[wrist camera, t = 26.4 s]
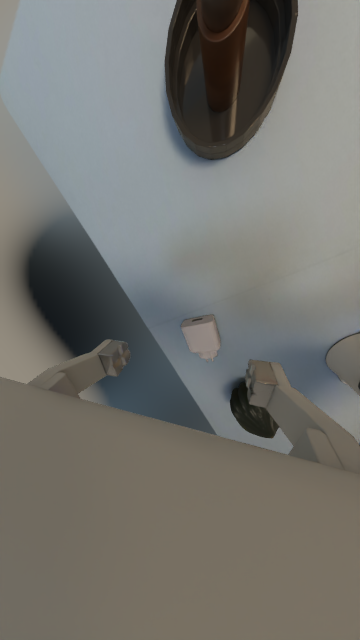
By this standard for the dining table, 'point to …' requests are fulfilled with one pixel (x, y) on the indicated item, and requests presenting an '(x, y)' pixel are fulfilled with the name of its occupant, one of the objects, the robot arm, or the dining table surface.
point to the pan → (256, 81)
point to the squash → (251, 414)
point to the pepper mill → (222, 48)
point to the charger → (202, 336)
